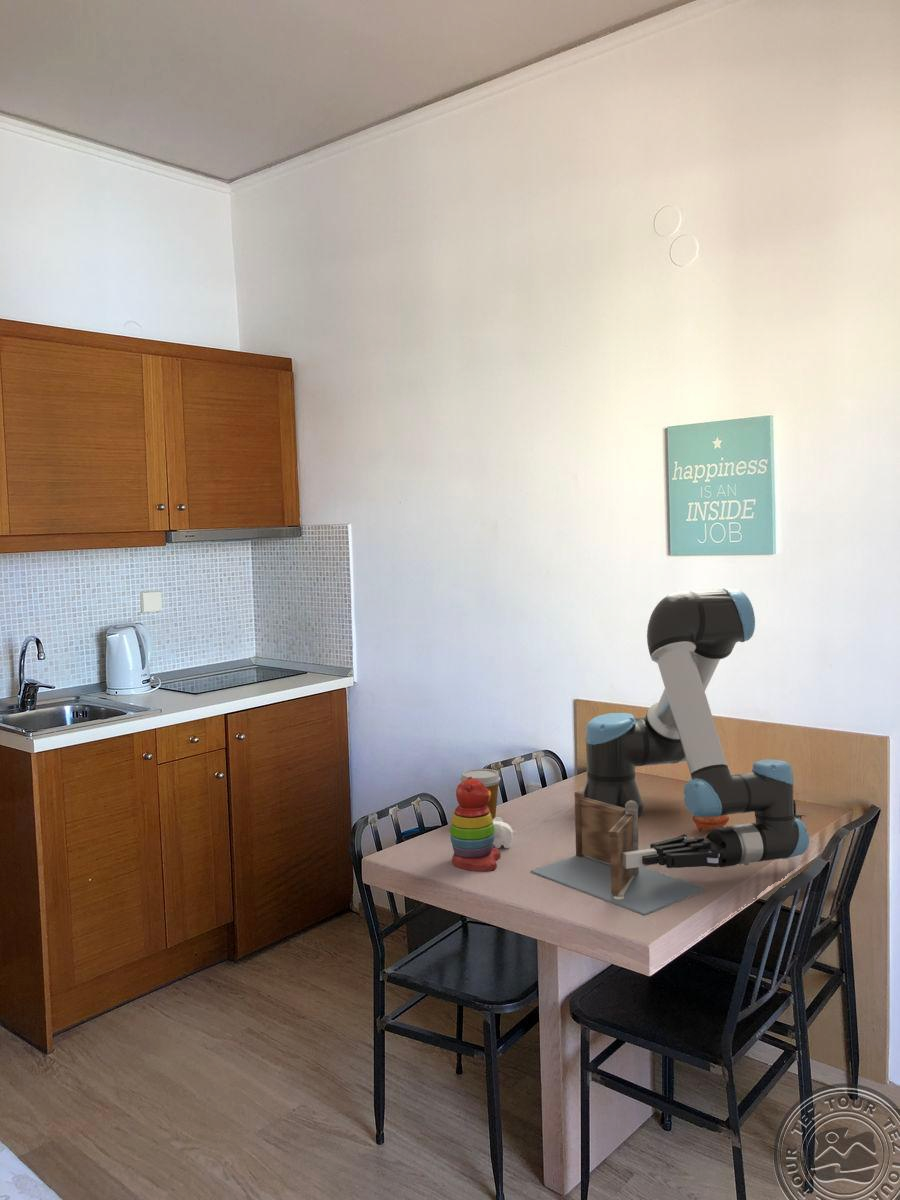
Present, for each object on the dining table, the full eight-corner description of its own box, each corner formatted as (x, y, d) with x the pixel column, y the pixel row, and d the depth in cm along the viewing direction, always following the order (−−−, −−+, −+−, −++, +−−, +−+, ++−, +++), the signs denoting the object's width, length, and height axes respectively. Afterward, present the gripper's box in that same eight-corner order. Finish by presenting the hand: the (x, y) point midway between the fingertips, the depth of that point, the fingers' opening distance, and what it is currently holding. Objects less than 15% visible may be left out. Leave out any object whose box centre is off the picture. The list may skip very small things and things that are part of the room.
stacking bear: (495, 872, 201) (493, 786, 200) (446, 870, 203) (444, 785, 202) (501, 854, 212) (499, 773, 211) (455, 852, 214) (453, 772, 212)
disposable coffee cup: (470, 815, 240) (468, 767, 239) (507, 818, 237) (505, 769, 236) (455, 827, 232) (454, 777, 231) (493, 830, 228) (492, 779, 227)
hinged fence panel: (626, 872, 196) (625, 813, 196) (635, 873, 196) (634, 814, 195) (609, 893, 186) (608, 831, 185) (619, 894, 185) (617, 832, 184)
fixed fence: (572, 856, 209) (571, 787, 208) (581, 853, 210) (580, 784, 209) (633, 877, 196) (632, 803, 195) (642, 874, 197) (640, 800, 196)
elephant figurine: (482, 841, 221) (481, 815, 220) (517, 841, 220) (517, 815, 220) (481, 852, 214) (480, 825, 213) (518, 851, 213) (517, 824, 213)
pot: (738, 830, 222) (734, 803, 220) (714, 845, 218) (710, 818, 216) (711, 821, 228) (707, 794, 227) (688, 835, 225) (683, 808, 223)
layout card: (530, 871, 201) (530, 870, 201) (591, 851, 212) (591, 849, 212) (644, 915, 177) (644, 913, 177) (706, 889, 188) (706, 887, 188)
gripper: (752, 875, 188) (640, 891, 181) (715, 853, 200) (609, 868, 194) (752, 836, 187) (640, 852, 181) (715, 817, 200) (609, 831, 193)
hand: (624, 860), depth 187 cm, fingers closed
